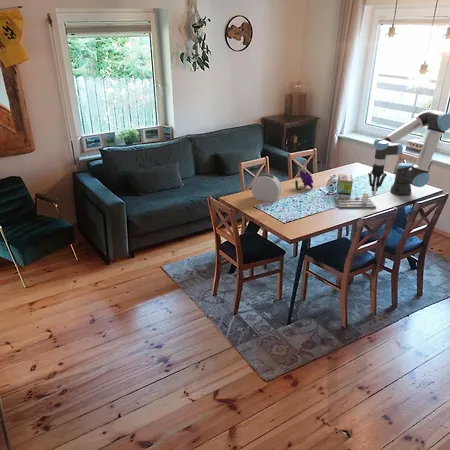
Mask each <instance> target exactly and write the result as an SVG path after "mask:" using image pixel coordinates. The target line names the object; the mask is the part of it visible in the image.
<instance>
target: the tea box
mask: <svg viewBox="0 0 450 450" xmlns="http://www.w3.org/2000/svg"><path fill="white" fill-rule="evenodd" d="M353 183H354V181H353V176H352V174H345V173H344V174H341V173H340V174H338V179H337V185H336V199H351V196H352V191H353V190H352V189H353Z"/></svg>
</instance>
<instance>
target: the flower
mask: <svg viewBox="0 0 450 450" xmlns="http://www.w3.org/2000/svg"><path fill="white" fill-rule="evenodd" d="M299 177H300V180H301V183H303V186H304V187H307V186H308V187H309V188H310V189H311V190H313V188H314V186H313V183H314V180H313V177H312V174H309V173H308V174H307V173H306V172H304V171H303V170H301V169H300V170H299ZM294 183H295V184H294V185H295V190H297V191H301V190H303V188H302V185H300V186H299V181H298V179H296V180H295V182H294Z"/></svg>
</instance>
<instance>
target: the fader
mask: <svg viewBox="0 0 450 450" xmlns="http://www.w3.org/2000/svg"><path fill="white" fill-rule="evenodd" d="M362 197H363V199H362V198H361V199H362V202H363V203H367V202H368V199H369V193H363V195H362Z"/></svg>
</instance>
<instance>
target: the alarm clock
mask: <svg viewBox="0 0 450 450" xmlns="http://www.w3.org/2000/svg"><path fill="white" fill-rule="evenodd" d="M282 189H283V188H282V184H281V182H280V180H279V179H278V178H277V177H276V176H275V175H273V174H271V173H261V174H260V175H259V176H258V177H256V178H255V180H254V181H253V183H252V184H251V193H252V196H253V197H254V199H255V200H257V201H264V202H269V203H273V202H274V203H275V201H276V200H277V199H278V198H279V197H280V195H281V193H282Z"/></svg>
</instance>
